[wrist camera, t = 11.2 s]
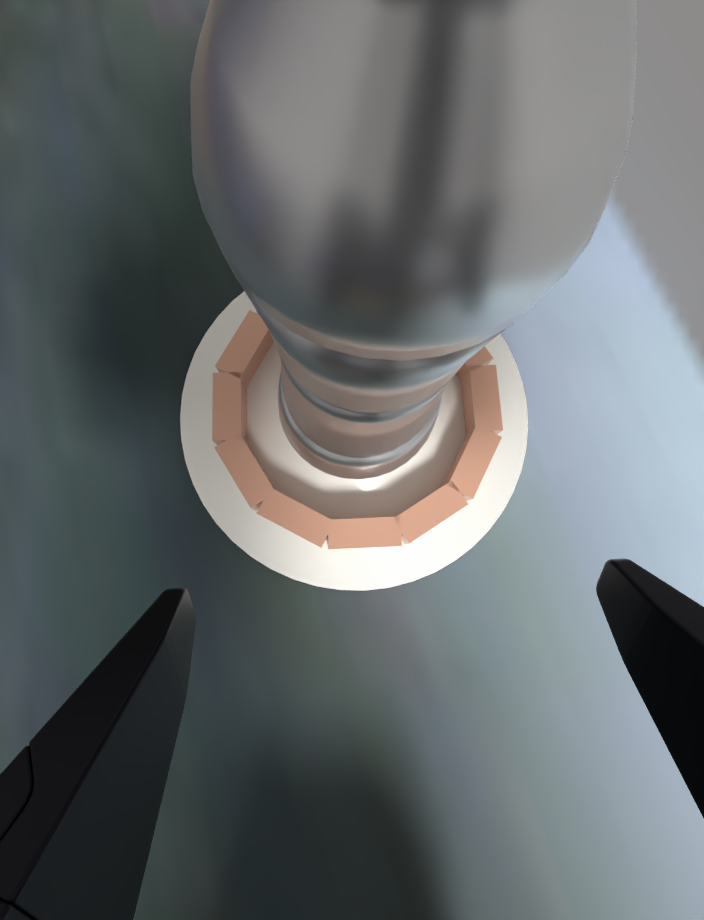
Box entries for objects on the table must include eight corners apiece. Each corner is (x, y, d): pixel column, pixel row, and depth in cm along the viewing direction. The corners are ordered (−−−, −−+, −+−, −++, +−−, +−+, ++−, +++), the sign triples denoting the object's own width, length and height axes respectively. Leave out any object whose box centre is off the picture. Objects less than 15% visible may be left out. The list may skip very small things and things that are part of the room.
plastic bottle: (256, 438, 21) (-780, -1020, 1) (336, 322, 22) (360, -1329, 3) (377, 515, 21) (1185, -98, 1) (453, 393, 22) (1493, -965, 2)
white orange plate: (434, 654, 20) (446, 667, 18) (119, 485, 21) (94, 478, 19) (571, 352, 23) (595, 332, 21) (289, 214, 24) (284, 181, 22)
